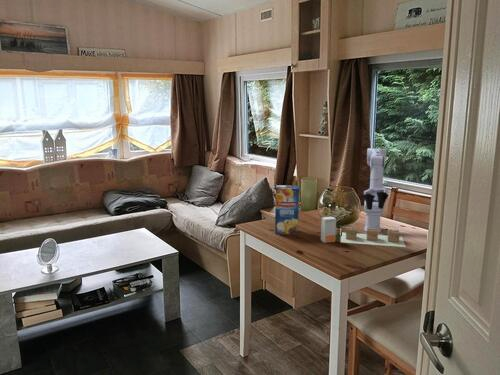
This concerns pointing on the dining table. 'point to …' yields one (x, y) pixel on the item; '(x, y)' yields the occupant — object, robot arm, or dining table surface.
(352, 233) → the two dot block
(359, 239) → the sage mat
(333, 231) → the skincare box
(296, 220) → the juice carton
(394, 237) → the one dot block
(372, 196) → the robot arm
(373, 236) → the plain block
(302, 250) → the dining table surface
